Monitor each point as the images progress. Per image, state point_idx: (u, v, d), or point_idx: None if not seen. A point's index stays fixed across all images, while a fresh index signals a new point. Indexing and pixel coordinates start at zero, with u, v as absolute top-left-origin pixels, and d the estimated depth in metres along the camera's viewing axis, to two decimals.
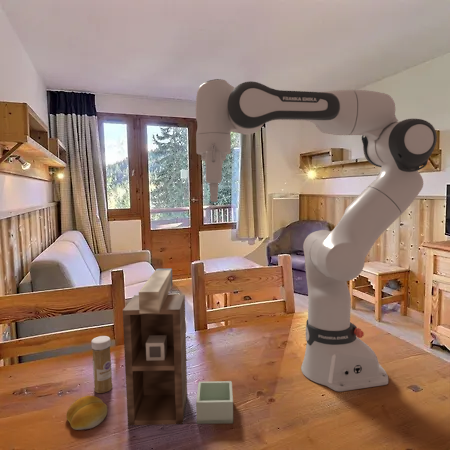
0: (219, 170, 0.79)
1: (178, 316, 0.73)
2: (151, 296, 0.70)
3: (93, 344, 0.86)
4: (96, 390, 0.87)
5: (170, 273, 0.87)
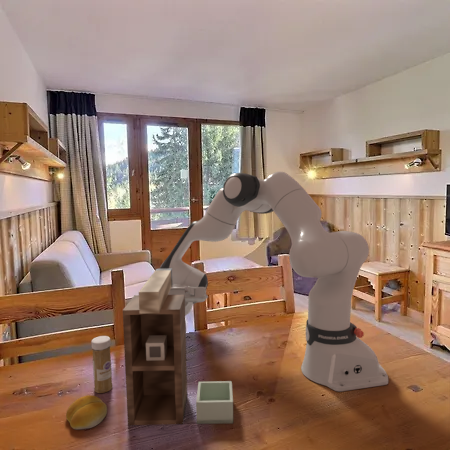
0: (205, 298, 1.08)
1: (178, 316, 0.73)
2: (151, 296, 0.70)
3: (93, 344, 0.86)
4: (96, 390, 0.87)
5: (170, 273, 0.87)
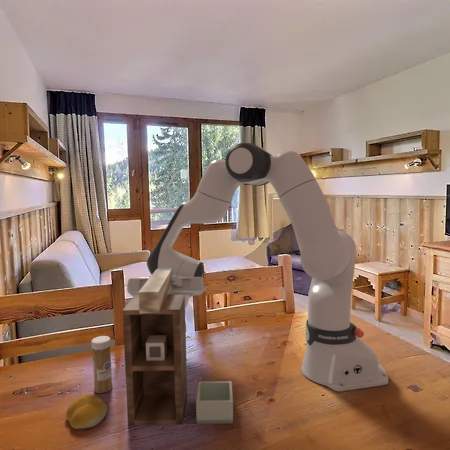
0: (203, 290, 0.92)
1: (178, 316, 0.73)
2: (151, 296, 0.70)
3: (93, 344, 0.86)
4: (96, 390, 0.87)
5: (170, 273, 0.87)
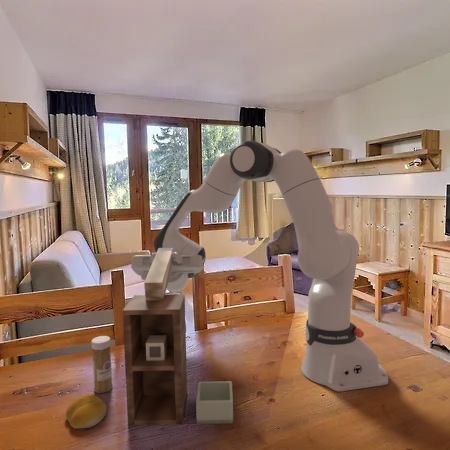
0: (202, 267, 1.00)
1: (178, 316, 0.73)
2: (155, 286, 0.77)
3: (93, 344, 0.86)
4: (96, 390, 0.87)
5: (171, 254, 0.93)
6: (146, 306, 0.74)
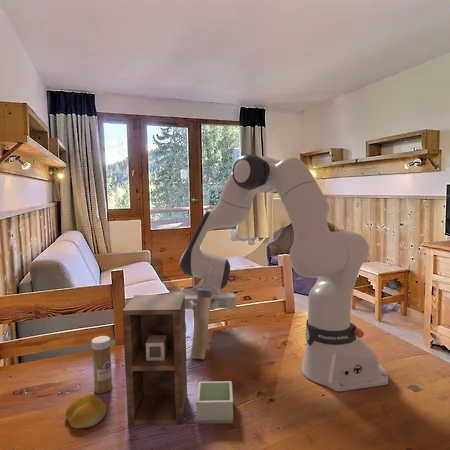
0: None
1: (178, 316, 0.73)
2: None
3: (93, 344, 0.86)
4: (96, 390, 0.87)
5: (210, 300, 1.04)
6: (146, 306, 0.74)
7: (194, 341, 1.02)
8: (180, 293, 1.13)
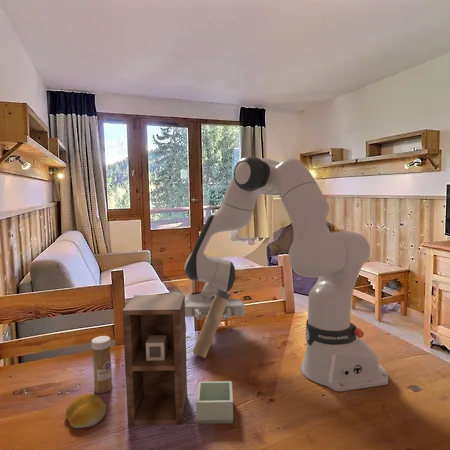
0: None
1: (178, 316, 0.73)
2: (200, 355, 1.03)
3: (93, 344, 0.86)
4: (96, 390, 0.87)
5: None
6: (146, 306, 0.74)
7: (201, 337, 1.02)
8: (188, 299, 1.14)
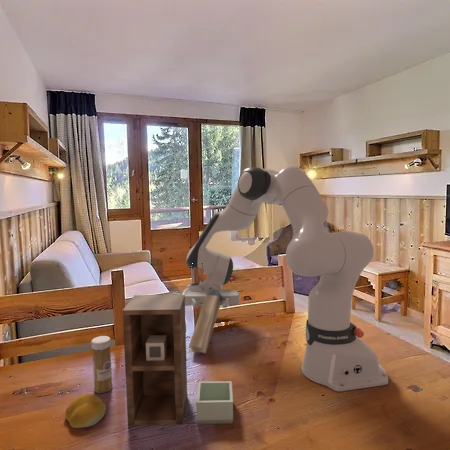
0: None
1: (178, 316, 0.73)
2: (197, 348, 1.04)
3: (93, 344, 0.86)
4: (96, 390, 0.87)
5: (216, 299, 1.14)
6: (146, 306, 0.74)
7: (195, 331, 1.08)
8: (187, 290, 1.23)
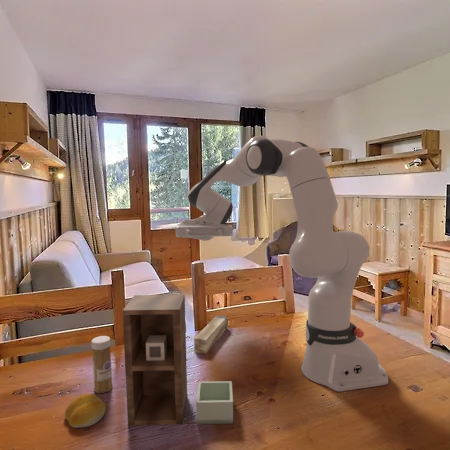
0: None
1: (178, 316, 0.73)
2: (201, 342, 1.07)
3: (93, 344, 0.86)
4: (96, 390, 0.87)
5: (224, 321, 1.22)
6: (146, 306, 0.74)
7: (201, 332, 1.12)
8: (182, 224, 1.24)
